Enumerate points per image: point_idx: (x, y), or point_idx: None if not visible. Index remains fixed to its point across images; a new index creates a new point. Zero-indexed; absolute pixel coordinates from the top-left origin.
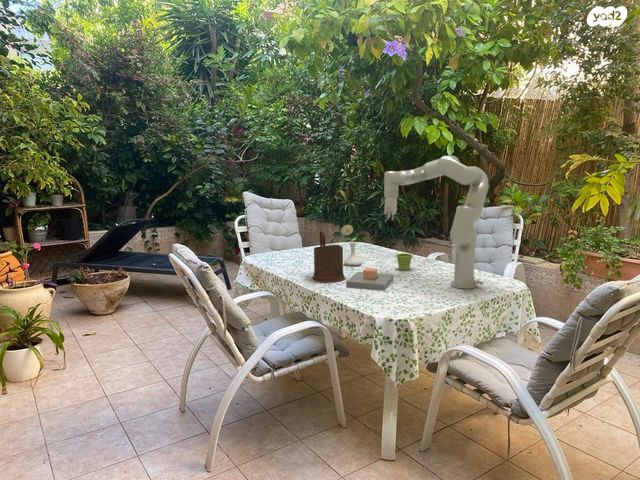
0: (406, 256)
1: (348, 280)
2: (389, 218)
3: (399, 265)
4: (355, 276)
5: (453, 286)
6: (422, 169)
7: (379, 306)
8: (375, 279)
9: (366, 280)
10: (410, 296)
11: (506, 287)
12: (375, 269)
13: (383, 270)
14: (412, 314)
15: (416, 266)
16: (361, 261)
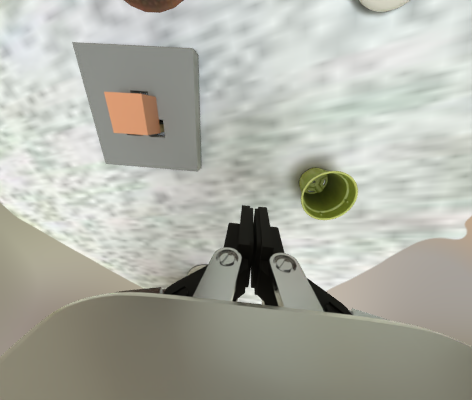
0: (346, 198)
1: (84, 47)
2: (190, 285)
3: (307, 174)
4: (137, 58)
5: (193, 268)
6: None
7: (24, 166)
8: None
9: None
10: (109, 210)
11: None
12: (136, 131)
13: (297, 125)
14: (32, 218)
15: None
16: (387, 6)
